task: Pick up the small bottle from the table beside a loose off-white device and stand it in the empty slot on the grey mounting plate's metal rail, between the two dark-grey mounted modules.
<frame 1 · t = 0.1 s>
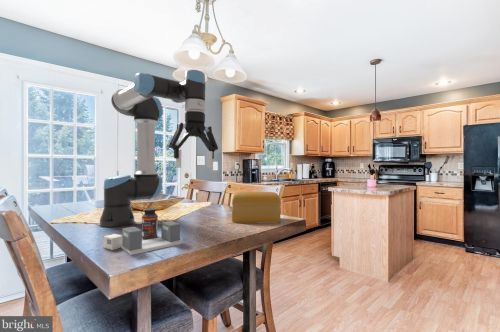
hand: (194, 167, 100), 28 cm above the table, fingers open, 13 cm apart
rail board: (152, 245, 94), on the table
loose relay: (113, 247, 92), on the table
bread: (255, 220, 137), on the table
supplement bottle: (149, 237, 104), on the table
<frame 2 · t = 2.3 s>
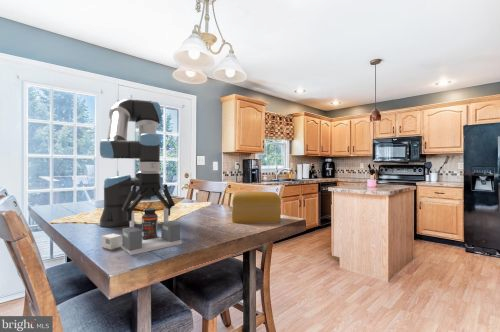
hand: (149, 226, 104), 4 cm above the table, fingers open, 13 cm apart
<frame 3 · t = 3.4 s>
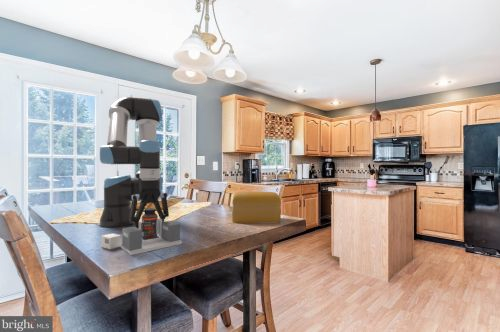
hand: (149, 236, 104), 0 cm above the table, fingers open, 8 cm apart
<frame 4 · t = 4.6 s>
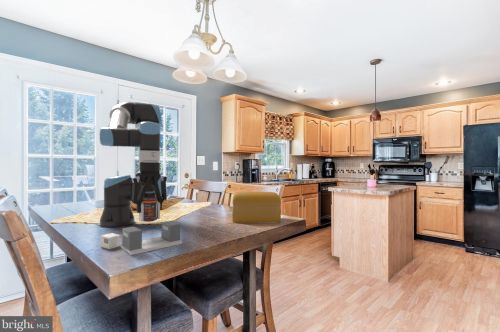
hand: (149, 219, 105), 7 cm above the table, fingers closed on supplement bottle, 6 cm apart
supplement bottle: (149, 220, 105), point 6 cm above the table, touching gripper
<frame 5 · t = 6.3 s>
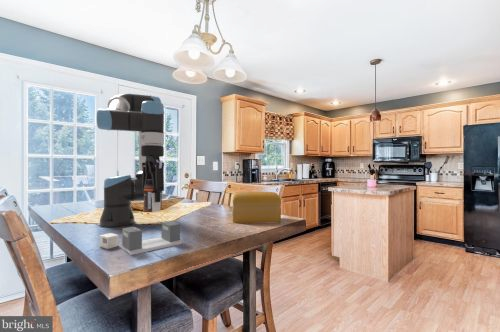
hand: (152, 210, 93), 13 cm above the table, fingers closed on supplement bottle, 6 cm apart
supplement bottle: (152, 211, 93), point 12 cm above the table, touching gripper
when the fingers open (2 cm above the table, at t = 8.0 s): supplement bottle stays where it is, resting on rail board.
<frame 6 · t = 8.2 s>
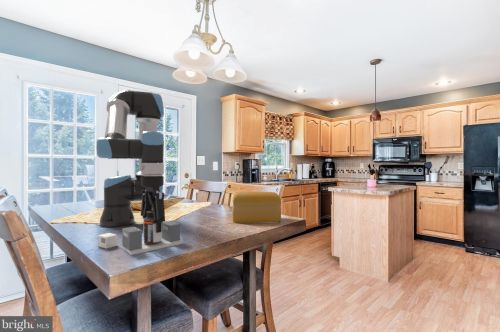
hand: (152, 238, 94), 2 cm above the table, fingers open, 8 cm apart
supplement bottle: (152, 243, 94), point 1 cm above the table, touching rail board
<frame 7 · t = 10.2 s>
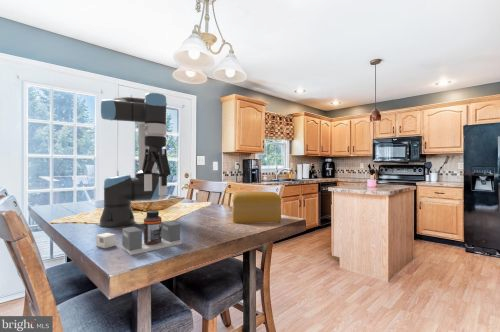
hand: (155, 192, 98), 18 cm above the table, fingers open, 13 cm apart
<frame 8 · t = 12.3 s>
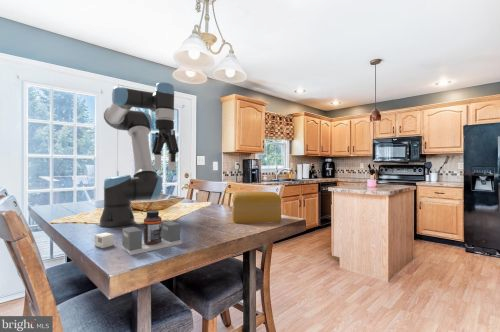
hand: (164, 169, 112), 27 cm above the table, fingers open, 13 cm apart
at the end: supplement bottle inside the target area on the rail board (0.2 cm from its centre), point 0.8 cm above the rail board's base; supplement bottle tilted 0°; the gripper is holding nothing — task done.
